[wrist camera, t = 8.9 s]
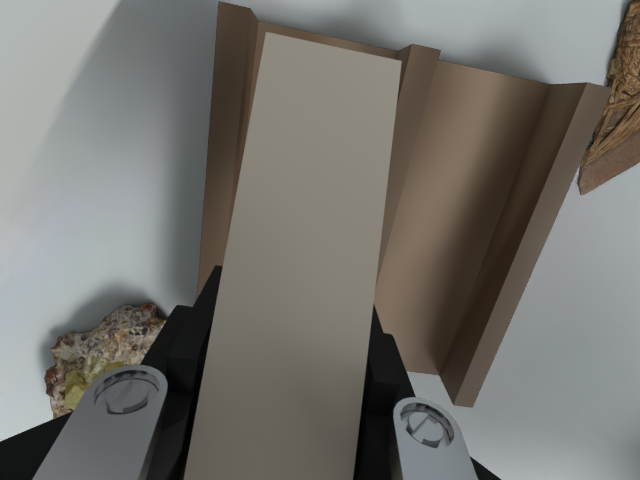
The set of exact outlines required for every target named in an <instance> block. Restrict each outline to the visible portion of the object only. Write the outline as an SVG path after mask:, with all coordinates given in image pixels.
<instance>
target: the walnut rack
mask: <svg viewBox="0 0 640 480" xmlns="http://www.w3.org/2000/svg"><path fill="white" fill-rule="evenodd" d="M266 32H269V33H274V34H278V35H283V36H288V37H292V38H297V39H302V40H306V41H311V42H315V43H320V44H325V45H329V46H334V47H339V48H343V49H348V50H353V51H357V52H362V53H366V54H371V55H376V56H380V57H385V58H390V59H394V60H399V61H402V63H401V72H400V80H399V89H398V98H397V106H396V115H395V123H394V132H393V140H392V149H391V158H390V166H389V175H388V183H387V192H386V201H385V209H384V218H383V226H382V235H381V243H380V252H379V261H378V269H377V278H376V286H375V295H374V305H375V308H376V311H377V314H378V317H379V320H380V323H381V326H382V329H383V332H384V333H388V334H392V335H393V337H394V339H395V342H396V345H397V347H398V350H399V353H400V356H401V358H402V361H403V364H404V367H405V369H406V371H410V372H418V373H426V374H433V375H439V376H440V378H441V380H442V382H443V384H444V386H445V388H446V390H447V393H448V395H449V397H450V399H451V401H452V403H453V405H457V406H465V407H473V405H474V403H475V400H476V398H477V396H478V393H479V391H480V389H481V387H482V384H483V382H484V380H485V378H486V375H487V373H488V371H489V369H490V366H491V364H492V362H493V359H494V357H495V355H496V353H497V350H498V348H499V346H500V344H501V341H502V339H503V337H504V335H505V332H506V330H507V328H508V325H509V323H510V321H511V319H512V316H513V314H514V312H515V310H516V307H517V305H518V303H519V300H520V298H521V296H522V294H523V291H524V289H525V287H526V285H527V282H528V280H529V278H530V276H531V273H532V271H533V269H534V266H535V264H536V262H537V260H538V257H539V255H540V253H541V251H542V248H543V246H544V244H545V242H546V239H547V237H548V235H549V232H550V230H551V228H552V226H553V223H554V221H555V219H556V217H557V214H558V212H559V210H560V207H561V205H562V203H563V201H564V198H565V196H566V194H567V192H568V189H569V187H570V185H571V183H572V180H573V178H574V176H575V173H576V171H577V169H578V167H579V164H580V162H581V160H582V158H583V155H584V153H585V151H586V149H587V146H588V144H589V142H590V139H591V137H592V135H593V133H594V130H595V128H596V126H597V124H598V121H599V119H600V117H601V114H602V112H603V110H604V108H605V105H606V103H607V101H608V99H609V96H610V94H611V92H612V90H613V88H610V87H605V86H601V85H596V84H592V83H569V84H546V83H541V82H537V81H532V80H528V79H523V78H518V77H514V76H509V75H505V74H500V73H495V72H491V71H486V70H482V69H477V68H472V67H468V66H463V65H459V64H454V63H449V62H445V61H440V60H438V59H439V55H440V51H441V50H437V49H433V48H428V47H424V46H419V45H415V44H411V45H409V46H407V47H405V48H403V49H402V50H400V51H394V50H390V49H385V48H380V47H376V46H371V45H367V44H362V43H357V42H353V41H348V40H344V39H339V38H334V37H330V36H325V35H321V34H316V33H311V32H307V31H302V30H298V29H293V28H288V27H284V26H279V25H275V24H270V23H265V22H261V21H258V20H257V18H256V16H255V15H254V13H253V12H252V10H251V9H250V8H247V7H242V6H238V5H233V4H229V3H224V2H220V1H219V4H218V17H217V31H216V45H215V58H214V72H213V86H212V99H211V113H210V127H209V140H208V154H207V168H206V181H205V195H204V209H203V222H202V236H201V250H200V263H199V277H198V290H197V299H198V297H199V295H200V293H201V291H202V289H203V287H204V285H205V283H206V282H207V280H208V278H209V276H210V274H211V272H212V270H213V268H214V267H215V265H218V266H223V263H224V257H225V252H226V246H227V241H228V236H229V230H230V225H231V219H232V214H233V209H234V203H235V198H236V192H237V187H238V181H239V176H240V171H241V165H242V160H243V154H244V149H245V143H246V138H247V133H248V127H249V122H250V116H251V111H252V105H253V100H254V95H255V89H256V84H257V78H258V73H259V67H260V62H261V57H262V51H263V46H264V40H265V35H266Z"/></svg>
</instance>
